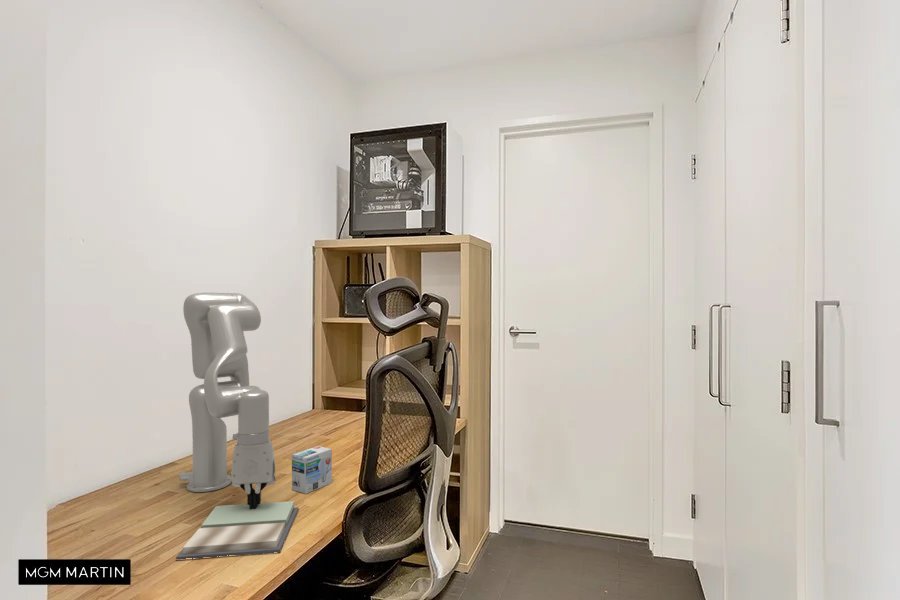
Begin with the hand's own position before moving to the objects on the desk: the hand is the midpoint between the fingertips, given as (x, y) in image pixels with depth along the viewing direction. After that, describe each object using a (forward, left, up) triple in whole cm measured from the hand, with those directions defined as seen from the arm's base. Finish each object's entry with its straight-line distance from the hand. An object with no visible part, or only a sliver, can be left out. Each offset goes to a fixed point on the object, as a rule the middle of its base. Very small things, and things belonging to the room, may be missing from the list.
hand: (254, 507), depth 124 cm
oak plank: (0, -14, -2) cm, 14 cm away
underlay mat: (0, -9, -3) cm, 9 cm away
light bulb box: (+12, +19, -3) cm, 23 cm away
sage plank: (0, -3, -2) cm, 4 cm away
